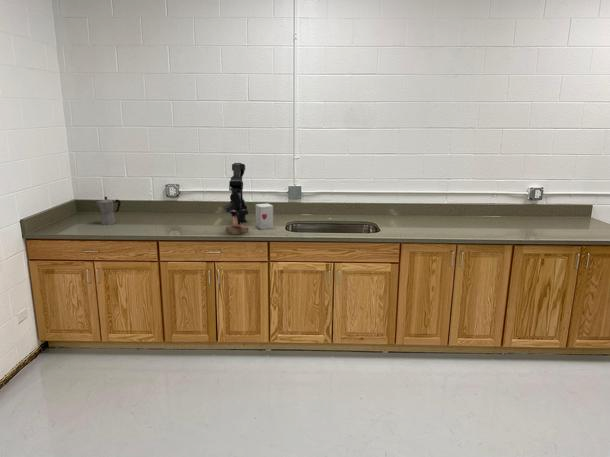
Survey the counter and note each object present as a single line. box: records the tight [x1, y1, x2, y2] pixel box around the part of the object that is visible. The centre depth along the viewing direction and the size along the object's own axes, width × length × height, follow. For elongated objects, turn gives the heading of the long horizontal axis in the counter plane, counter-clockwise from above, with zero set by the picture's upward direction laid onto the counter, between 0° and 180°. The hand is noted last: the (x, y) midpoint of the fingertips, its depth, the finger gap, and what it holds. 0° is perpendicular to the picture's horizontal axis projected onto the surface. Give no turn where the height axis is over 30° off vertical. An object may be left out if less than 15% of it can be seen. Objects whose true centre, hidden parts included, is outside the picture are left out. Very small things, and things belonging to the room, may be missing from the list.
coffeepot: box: [95, 196, 122, 226], centre depth 305 cm, size 15×9×18 cm, turn 113°
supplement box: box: [255, 203, 274, 230], centre depth 299 cm, size 9×9×15 cm
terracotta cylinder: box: [232, 215, 242, 227], centre depth 288 cm, size 5×5×6 cm
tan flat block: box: [225, 224, 249, 235], centre depth 289 cm, size 10×10×3 cm
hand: (237, 223), depth 288 cm, fingers closed on terracotta cylinder, 5 cm apart
